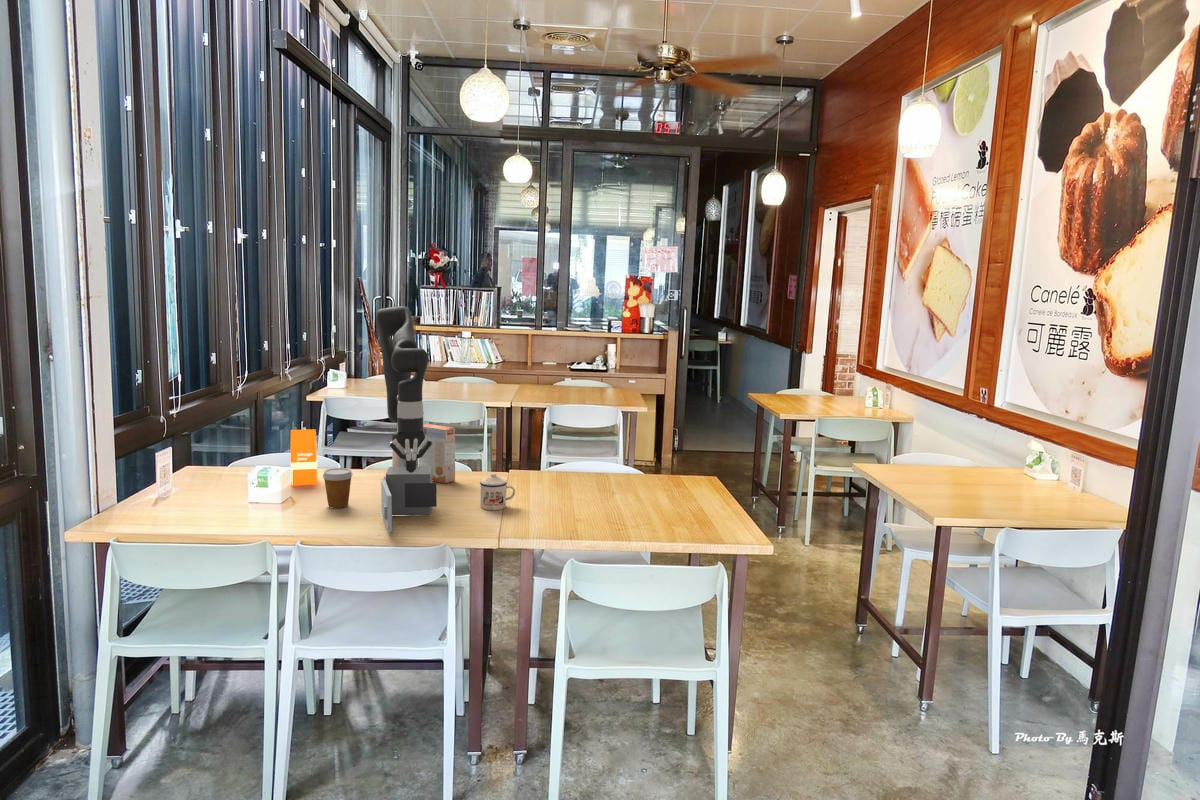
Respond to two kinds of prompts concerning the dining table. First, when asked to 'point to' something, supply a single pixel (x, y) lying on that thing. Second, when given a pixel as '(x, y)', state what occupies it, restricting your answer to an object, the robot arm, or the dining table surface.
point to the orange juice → (304, 457)
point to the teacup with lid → (494, 493)
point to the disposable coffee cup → (337, 486)
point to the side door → (386, 505)
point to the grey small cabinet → (411, 490)
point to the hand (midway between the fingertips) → (410, 471)
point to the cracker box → (439, 452)
